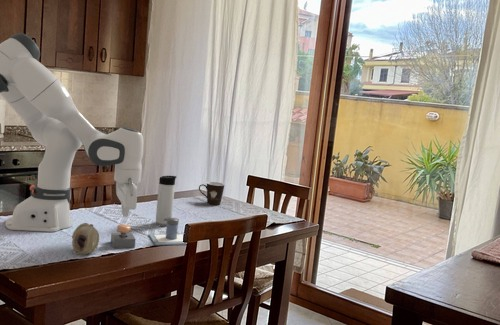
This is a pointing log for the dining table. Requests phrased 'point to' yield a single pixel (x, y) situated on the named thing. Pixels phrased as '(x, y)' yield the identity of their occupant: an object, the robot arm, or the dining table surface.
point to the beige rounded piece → (85, 239)
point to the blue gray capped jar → (172, 228)
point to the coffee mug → (213, 192)
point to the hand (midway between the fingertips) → (124, 215)
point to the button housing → (122, 240)
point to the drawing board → (161, 239)
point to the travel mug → (165, 199)
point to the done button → (123, 229)
